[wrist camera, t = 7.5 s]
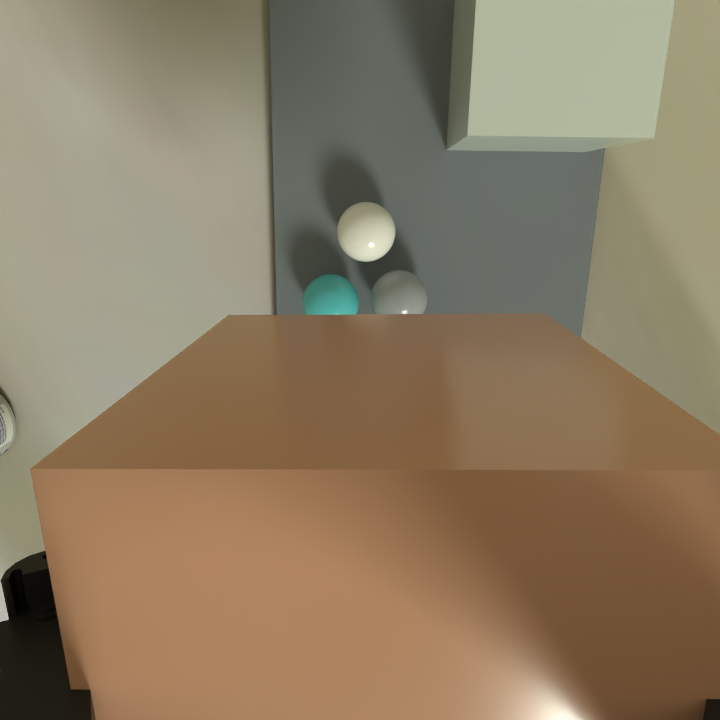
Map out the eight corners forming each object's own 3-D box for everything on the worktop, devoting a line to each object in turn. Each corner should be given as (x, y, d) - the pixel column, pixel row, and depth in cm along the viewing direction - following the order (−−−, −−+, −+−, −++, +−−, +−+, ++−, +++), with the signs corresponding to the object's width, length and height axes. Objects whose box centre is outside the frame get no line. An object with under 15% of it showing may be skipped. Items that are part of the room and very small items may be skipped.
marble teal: (306, 323, 33) (298, 336, 30) (306, 269, 32) (298, 277, 29) (360, 324, 32) (357, 337, 30) (360, 271, 32) (358, 279, 29)
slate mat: (279, 348, 34) (277, 351, 33) (271, -2, 29) (268, -6, 28) (574, 356, 33) (577, 360, 32) (619, 0, 28) (624, -4, 27)
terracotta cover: (248, 583, 19) (120, 961, 10) (228, 315, 17) (30, 469, 7) (524, 586, 19) (671, 980, 10) (544, 312, 17) (771, 471, 7)
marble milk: (338, 257, 31) (334, 264, 29) (339, 200, 31) (334, 201, 28) (394, 259, 31) (394, 265, 28) (396, 201, 31) (396, 202, 28)
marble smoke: (370, 319, 32) (369, 332, 29) (372, 266, 32) (370, 273, 29) (424, 321, 32) (428, 333, 29) (427, 267, 31) (431, 274, 29)
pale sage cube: (446, 150, 30) (467, 135, 22) (454, -5, 28) (481, -80, 20) (584, 151, 29) (653, 138, 22) (602, -4, 27) (686, -80, 20)
